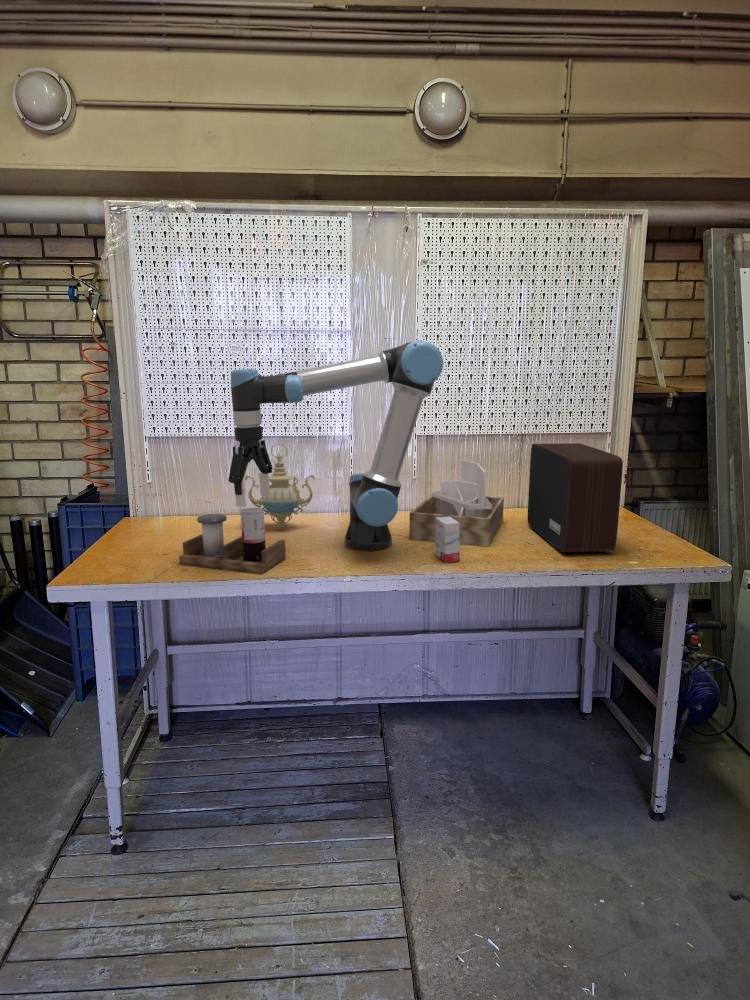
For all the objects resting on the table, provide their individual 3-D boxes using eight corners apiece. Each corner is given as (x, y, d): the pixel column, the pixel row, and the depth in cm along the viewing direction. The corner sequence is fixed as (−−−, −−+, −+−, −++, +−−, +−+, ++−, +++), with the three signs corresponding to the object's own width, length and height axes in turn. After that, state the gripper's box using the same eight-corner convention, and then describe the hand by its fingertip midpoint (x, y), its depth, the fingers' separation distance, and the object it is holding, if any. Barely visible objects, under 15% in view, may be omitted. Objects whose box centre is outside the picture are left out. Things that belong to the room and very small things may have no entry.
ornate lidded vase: (244, 533, 212) (240, 446, 206) (250, 524, 223) (246, 441, 217) (314, 533, 213) (312, 445, 206) (317, 524, 224) (315, 441, 217)
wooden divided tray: (285, 559, 184) (285, 539, 183) (262, 574, 172) (261, 553, 170) (207, 550, 193) (206, 532, 192) (179, 564, 180) (178, 544, 179)
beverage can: (240, 563, 178) (237, 512, 175) (247, 556, 184) (244, 507, 181) (262, 564, 177) (260, 513, 174) (268, 557, 184) (266, 507, 181)
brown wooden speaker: (621, 556, 187) (629, 457, 180) (563, 557, 186) (570, 458, 179) (575, 525, 222) (581, 441, 216) (526, 526, 221) (530, 442, 215)
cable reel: (234, 553, 188) (232, 515, 185) (218, 561, 180) (216, 522, 177) (210, 550, 190) (207, 513, 188) (193, 558, 183) (191, 519, 180)
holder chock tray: (502, 521, 227) (503, 497, 225) (488, 546, 196) (489, 519, 195) (433, 516, 235) (433, 492, 233) (409, 539, 205) (409, 512, 203)
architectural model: (417, 526, 223) (418, 461, 218) (465, 519, 232) (467, 457, 227) (463, 546, 199) (465, 474, 193) (515, 537, 208) (518, 468, 203)
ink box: (460, 562, 182) (461, 522, 179) (443, 563, 181) (444, 524, 178) (449, 553, 190) (450, 515, 187) (434, 554, 189) (434, 516, 186)
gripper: (258, 421, 185) (263, 490, 190) (210, 431, 162) (217, 510, 167) (281, 421, 183) (285, 491, 187) (236, 431, 160) (242, 511, 164)
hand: (253, 500), depth 177 cm, fingers open, 13 cm apart
